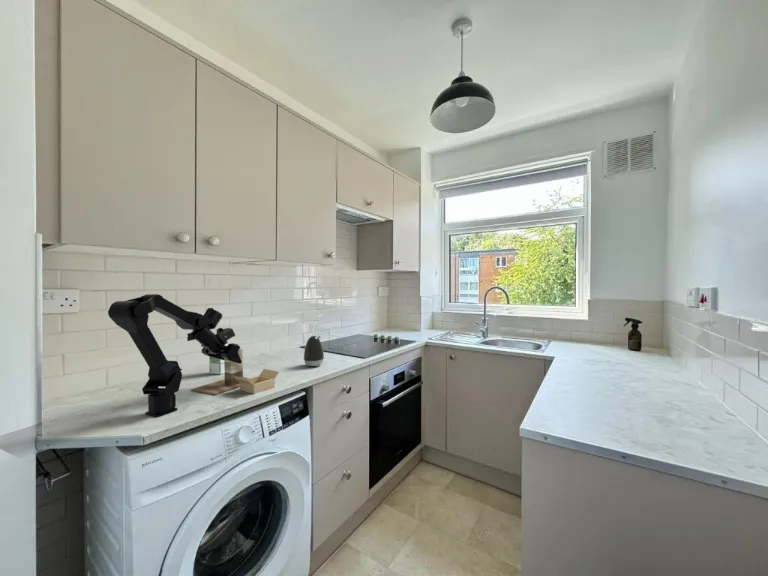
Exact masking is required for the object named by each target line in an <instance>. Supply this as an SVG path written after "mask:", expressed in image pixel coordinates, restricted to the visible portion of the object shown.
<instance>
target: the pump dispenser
mask: <svg viewBox="0 0 768 576" xmlns="http://www.w3.org/2000/svg"><path fill="white" fill-rule="evenodd" d="M320 339H321V336H320V335H319V336H316V335H311V336H310V337H309V338H308V339H307V341H306V343H305V348H304V350H303V360H304V361H303V362H304V364H305V365H306V366H307V367H309V366H317V367H319V366H321V365H322V363H323V361H324V359H325V354H324V353H325V352H324V347H323V345H322V343H321V340H320Z"/></svg>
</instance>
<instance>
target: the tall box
mask: <svg viewBox="0 0 768 576" xmlns="http://www.w3.org/2000/svg"><path fill="white" fill-rule="evenodd" d="M243 353H244V349H243V348H240V349H239V351H238V355H239V357H240V359H241V360H242V363H241V364H239V363H235V362H232V361H229V360H225V359H224V368H225V373H224V379H225V384H227V385H230V386H233V385H236V384H240V382H239V381H238V380H237V379H235V378H234V377H235V376H236V377H240V378H243V377H244V360H243V359H244V354H243Z"/></svg>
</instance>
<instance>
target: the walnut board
mask: <svg viewBox="0 0 768 576" xmlns="http://www.w3.org/2000/svg"><path fill="white" fill-rule="evenodd" d="M243 378H244V379H248V378H249V377H244V376H243ZM236 389H240V384H236V385H233V386H230V385H227V384H225V378H223V379H221V380H217V381H214V382H210V383H207V384H204V385H201V386H197V387H194V388H191V390H190V391H191V392H197V393H201V394H207V395H211V394H212V396H219V395H221V393H222V394H224V392H225V393H227V392H230V391H233V390H236ZM218 394H219V395H218Z"/></svg>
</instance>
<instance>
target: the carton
mask: <svg viewBox="0 0 768 576" xmlns="http://www.w3.org/2000/svg"><path fill="white" fill-rule="evenodd" d="M279 373H280V371H277V370H272V369H269V368H268V369H266V368H263V369H262V371H261V373H259V375H256V376H253V377H247V378H248V379H244V378H240V377H236V376H235V377H234V378H235V379H237V380H238V381H239V382H240V387H239V390H240V391H241V392H242V391H243V392H246V393H250V394H253V395H255V394H258V393H259V394H260V393H261V392H265V391H268V390H272V389H274V388H275V386H276V385H275V383H276V382H275V380H276V378H277V376H279Z"/></svg>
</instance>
